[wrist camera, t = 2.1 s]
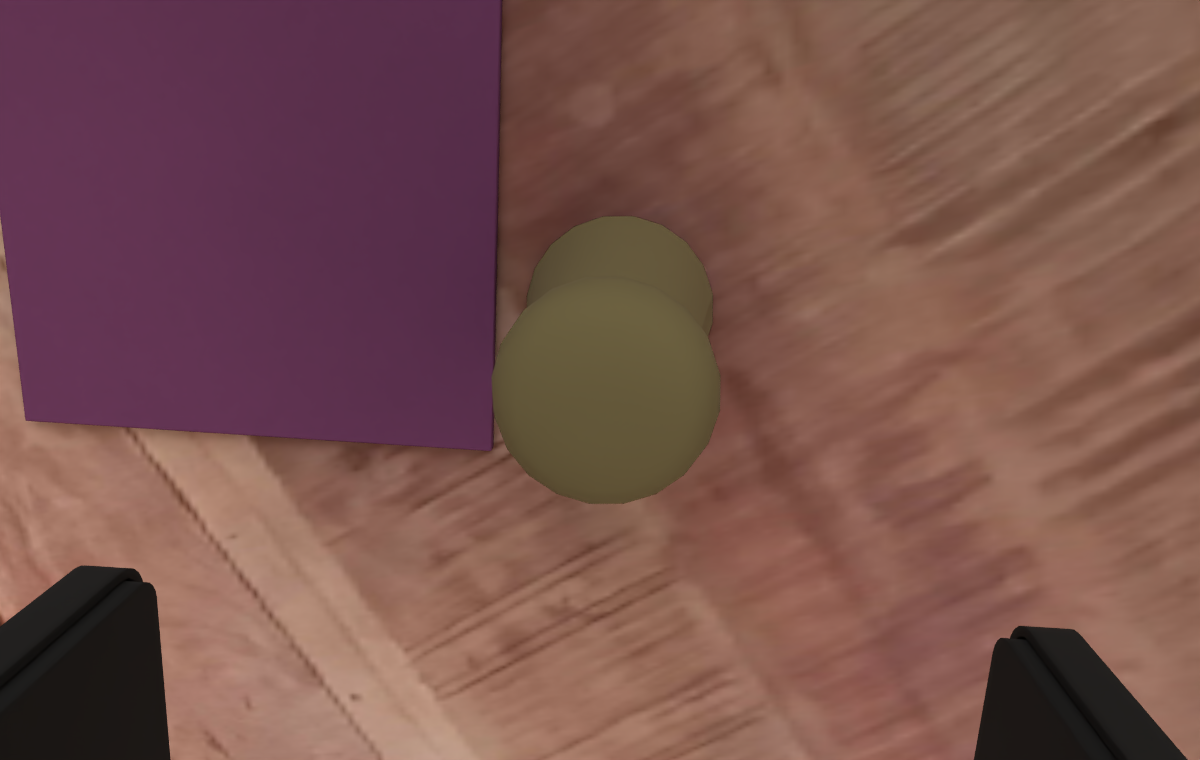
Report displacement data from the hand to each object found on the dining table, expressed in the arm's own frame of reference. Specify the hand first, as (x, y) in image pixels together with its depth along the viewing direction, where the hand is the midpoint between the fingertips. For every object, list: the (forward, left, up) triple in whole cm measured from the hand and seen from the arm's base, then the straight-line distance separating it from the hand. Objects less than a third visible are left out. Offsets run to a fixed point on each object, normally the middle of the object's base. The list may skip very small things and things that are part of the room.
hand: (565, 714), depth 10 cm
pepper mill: (0, 0, -21) cm, 21 cm away
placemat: (-5, -12, -21) cm, 25 cm away
